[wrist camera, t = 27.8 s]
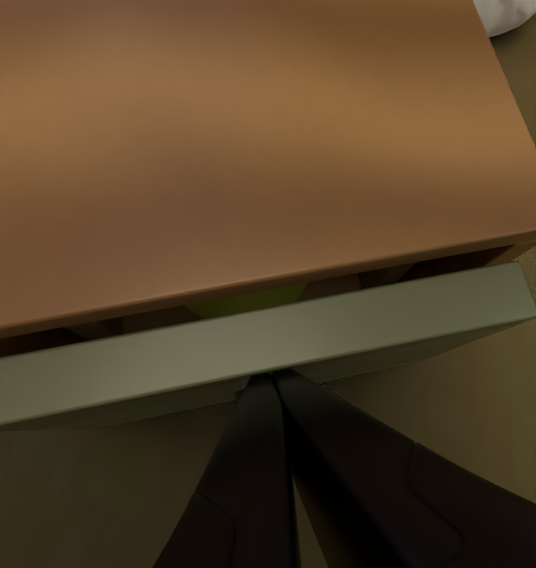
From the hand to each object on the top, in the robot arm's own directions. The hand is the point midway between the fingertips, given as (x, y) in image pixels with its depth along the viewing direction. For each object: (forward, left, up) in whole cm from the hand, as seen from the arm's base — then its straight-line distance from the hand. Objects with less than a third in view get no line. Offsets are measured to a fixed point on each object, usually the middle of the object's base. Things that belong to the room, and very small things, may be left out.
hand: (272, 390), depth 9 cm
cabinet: (+7, -3, -7) cm, 11 cm away
